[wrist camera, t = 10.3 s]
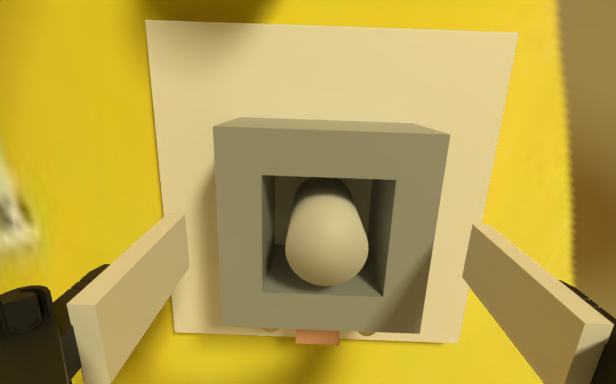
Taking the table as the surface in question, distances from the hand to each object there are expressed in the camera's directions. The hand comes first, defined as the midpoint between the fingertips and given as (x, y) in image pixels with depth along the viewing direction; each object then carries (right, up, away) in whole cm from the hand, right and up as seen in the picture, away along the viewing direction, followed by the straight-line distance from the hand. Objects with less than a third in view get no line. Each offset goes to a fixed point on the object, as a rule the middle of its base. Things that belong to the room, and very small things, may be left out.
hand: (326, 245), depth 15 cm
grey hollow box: (0, 0, +8) cm, 8 cm away
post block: (0, +2, +9) cm, 9 cm away
